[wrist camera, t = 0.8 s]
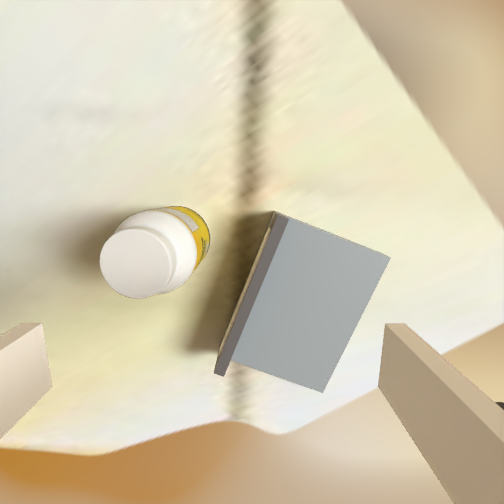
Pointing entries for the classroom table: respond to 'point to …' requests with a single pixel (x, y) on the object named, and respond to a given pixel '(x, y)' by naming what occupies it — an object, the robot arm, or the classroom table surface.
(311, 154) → the classroom table surface
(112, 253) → the pill bottle
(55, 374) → the classroom table surface
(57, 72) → the classroom table surface
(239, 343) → the grey piece
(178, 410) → the classroom table surface
